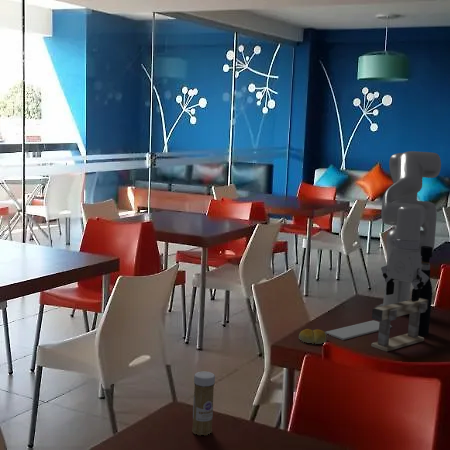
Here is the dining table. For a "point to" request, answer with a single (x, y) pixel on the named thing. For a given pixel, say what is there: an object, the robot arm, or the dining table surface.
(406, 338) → the rack
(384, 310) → the rail
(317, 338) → the bread roll
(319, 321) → the dining table surface
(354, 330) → the mat
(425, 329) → the wine bottle
